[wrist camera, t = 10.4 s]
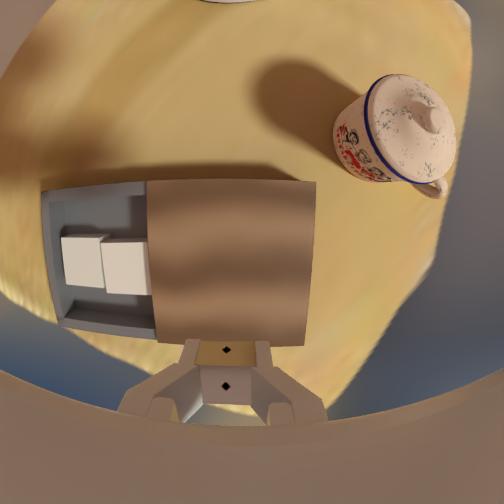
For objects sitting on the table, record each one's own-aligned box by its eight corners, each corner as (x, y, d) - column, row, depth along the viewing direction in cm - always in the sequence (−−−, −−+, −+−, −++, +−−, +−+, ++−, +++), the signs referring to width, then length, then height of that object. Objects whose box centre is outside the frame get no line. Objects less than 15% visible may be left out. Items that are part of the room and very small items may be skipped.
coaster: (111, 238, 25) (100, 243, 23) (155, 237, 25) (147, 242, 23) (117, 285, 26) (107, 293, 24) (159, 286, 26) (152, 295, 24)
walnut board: (160, 182, 25) (147, 180, 21) (305, 183, 25) (316, 181, 21) (167, 324, 28) (158, 342, 24) (296, 326, 28) (303, 345, 25)
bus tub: (59, 190, 24) (41, 191, 21) (160, 182, 25) (148, 180, 21) (73, 314, 28) (58, 325, 24) (167, 324, 28) (159, 340, 25)
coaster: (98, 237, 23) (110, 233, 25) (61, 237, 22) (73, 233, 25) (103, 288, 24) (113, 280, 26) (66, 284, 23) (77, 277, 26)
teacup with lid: (311, 136, 24) (357, 100, 13) (364, 87, 23) (423, 43, 12) (386, 222, 26) (459, 242, 15) (430, 169, 25) (504, 167, 14)
